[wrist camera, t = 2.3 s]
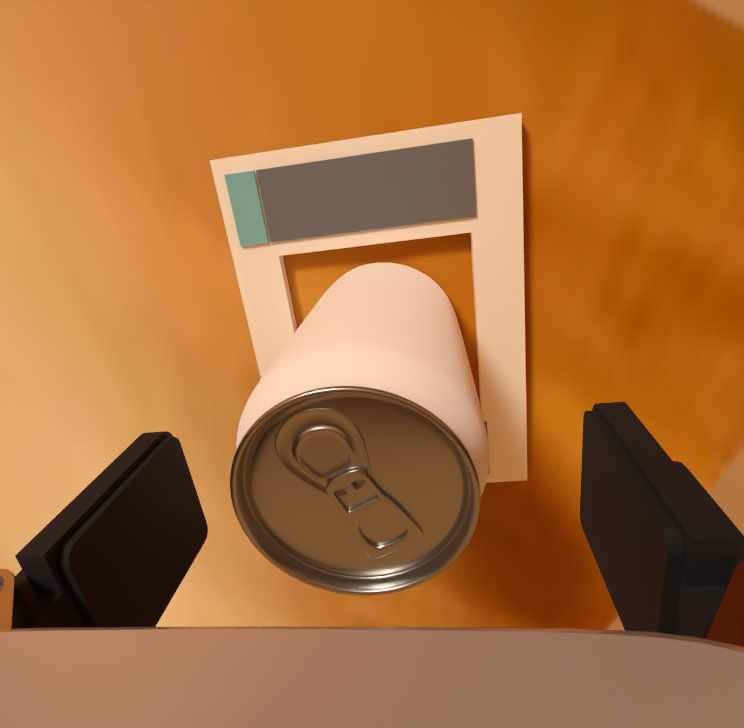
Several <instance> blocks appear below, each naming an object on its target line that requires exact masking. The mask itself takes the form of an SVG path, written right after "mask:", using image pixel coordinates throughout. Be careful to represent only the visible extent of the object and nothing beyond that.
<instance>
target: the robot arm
mask: <svg viewBox="0 0 744 728" xmlns="http://www.w3.org/2000/svg"><path fill="white" fill-rule="evenodd" d="M580 518H581V524H582V528H583V531H584V533H585V536H586V538H587V540H588V543H589V545H590V548H591V550H592V552H593V555H594V557H595V560H596V562H597V564H598V567H599V569H600V572H601V574H602V576H603V579H604V581H605V584H606V586H607V588H608V591H609V593H610V596H611V598H612V600H613V603H614V605H615V608H616V610H617V612H618V615H619V617H620V620H621V622H622V624H623V627H624V629H625V631H619V630H596V629H573V628H473V627H155V626H156V624H157V623H158V621H159V619H160V618H161V616H162V614H163V612H164V611H165V609H166V607H167V606H168V604H169V602H170V600H171V599H172V597H173V595H174V594H175V592H176V590H177V588H178V587H179V585H180V583H181V582H182V580H183V578H184V576H185V575H186V573H187V571H188V570H189V568H190V566H191V564H192V563H193V561H194V559H195V558H196V556H197V554H198V552H199V551H200V549H201V547H202V546H203V544H204V542H205V540H206V537H207V532H208V528H207V523H206V520H205V517H204V514H203V511H202V508H201V505H200V501H199V498H198V495H197V492H196V489H195V486H194V483H193V480H192V477H191V474H190V471H189V468H188V465H187V462H186V459H185V456H184V453H183V450H182V447H181V444H180V442H179V440H178V439H177V438H176V437H173V436H172V434H171V433H169V432H152V433H143V434H142V435H140V436H139V437H138V438H137V439H136V440H135V441H134V442H133V443H132V444H131V445H130V446H129V447H128V448H127V449H126V450H125V451H124V452H123V453H122V454H121V455H119V456H118V457H117V458H116V459H115V460H114V461H113V462H112V463H111V464H110V465H109V466H108V467H107V468H106V469H105V470H104V471H103V472H102V473H101V474H100V475H99V476H98V477H97V478H96V479H95V480H94V481H92V482H91V483H90V484H89V485H88V486H87V487H86V488H85V489H84V490H83V491H82V492H81V493H80V494H79V495H78V496H77V497H76V498H75V499H74V500H73V501H72V502H71V503H70V504H69V505H68V506H67V507H65V508H64V509H63V510H62V511H61V512H60V513H59V514H58V515H57V516H56V517H55V518H54V519H53V520H52V521H51V522H50V523H49V524H48V525H47V526H46V527H45V528H44V529H43V530H42V531H41V532H40V533H38V534H37V535H36V536H35V537H34V538H33V539H32V540H31V541H30V542H29V543H28V544H27V545H26V546H25V547H24V548H23V549H22V550H21V551H20V552H19V553H18V554H17V555H16V558H17V560H18V562H19V564H20V566H21V568H22V570H21V571H20V572H19V573H18V574H17V575H16V576H14V574H13V572H11V571H9V570H7V569H0V728H744V536H743V534H742V533H741V532H740V531H739V530H738V528H737V527H736V526H735V525H734V524H733V523H732V521H731V520H730V519H729V518H728V517H727V515H726V514H725V513H724V512H723V511H722V509H721V508H720V507H719V506H718V505H717V503H716V502H715V501H714V500H713V499H712V497H711V496H710V495H709V494H708V493H707V491H706V490H705V489H704V488H703V487H702V485H701V484H700V483H699V482H698V481H697V479H696V478H695V477H694V476H693V475H692V473H691V472H690V471H689V470H688V469H687V467H686V466H684V465H683V464H682V463H681V462H677V461H672V460H671V459H670V457H669V456H668V455H667V454H666V452H665V451H664V450H663V449H662V447H661V446H660V445H659V444H658V442H657V441H656V440H655V439H654V438H653V436H652V435H651V434H650V433H649V431H648V430H647V429H646V428H645V426H644V425H643V424H642V423H641V421H640V420H639V419H638V418H637V416H636V415H635V414H634V413H633V411H632V410H631V409H630V408H629V407H628V405H627V404H626V403H625V402H614V403H598V404H595V405H594V406H593V410H592V411H585V413H584V421H583V448H582V474H581V501H580Z"/></svg>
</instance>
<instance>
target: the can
mask: <svg viewBox="0 0 744 728" xmlns="http://www.w3.org/2000/svg"><path fill="white" fill-rule="evenodd" d="M488 470H489V447H488V439H487V433H486V428H485V423H484V419H483V415H482V411H481V406H480V402H479V398H478V395H477V391H476V387H475V383H474V379H473V375H472V372H471V368H470V364H469V360H468V356H467V353H466V349H465V345H464V342H463V338H462V334H461V331H460V327H459V324H458V320H457V317H456V314H455V311H454V309H453V306H452V304H451V302H450V300H449V299H448V297H447V295H446V294H445V293H444V291H443V290H442V289H441V288H440V287H439V285H438V284H437V283H436V282H434V281H433V280H432V279H431V278H429V277H428V276H427V275H425V274H424V273H422V272H420V271H418V270H416V269H414V268H411V267H408V266H405V265H401V264H396V263H373V264H366V265H362V266H359V267H357V268H354V269H352V270H351V271H349V272H347V273H346V274H344V275H343V276H342V277H340V278H339V279H338V280H337V281H336V282H335V283H334V284H333V285H332V286H331V287H330V288H329V289H328V290H327V291H326V292H325V294H324V295H323V296H322V297H321V299H320V300H319V301H318V303H317V304H316V305H315V306H314V308H313V309H312V310H311V312H310V313H309V314H308V316H307V317H306V318H305V320H304V321H303V322H302V324H301V325H300V326H299V328H298V329H297V330H296V332H295V333H294V335H293V336H292V337H291V339H290V340H289V341H288V343H287V344H286V345H285V347H284V348H283V349H282V351H281V352H280V354H279V355H278V356H277V358H276V359H275V360H274V362H273V363H272V364H271V366H270V367H269V369H268V370H267V371H266V373H265V374H264V376H263V377H262V379H261V380H260V382H259V383H258V385H257V386H256V388H255V389H254V391H253V392H252V394H251V396H250V398H249V400H248V402H247V404H246V406H245V408H244V411H243V413H242V416H241V419H240V423H239V427H238V433H237V450H236V453H235V456H234V459H233V463H232V468H231V475H230V491H231V498H232V503H233V507H234V510H235V513H236V516H237V518H238V521H239V523H240V525H241V527H242V529H243V530H244V532H245V534H246V535H247V537H248V538H249V540H250V541H251V542H252V544H253V545H254V546H255V547H256V548H257V550H258V551H259V552H260V553H261V554H262V555H263V556H264V557H265V558H267V559H268V560H269V561H270V562H271V563H272V564H274V565H275V566H276V567H278V568H279V569H280V570H282V571H283V572H285V573H287V574H288V575H290V576H292V577H294V578H296V579H298V580H300V581H302V582H304V583H306V584H309V585H311V586H314V587H317V588H320V589H323V590H327V591H331V592H336V593H341V594H349V595H382V594H389V593H394V592H399V591H403V590H406V589H409V588H412V587H415V586H417V585H420V584H422V583H424V582H426V581H428V580H430V579H432V578H434V577H435V576H437V575H438V574H440V573H441V572H443V571H444V570H445V569H446V568H448V567H449V566H450V565H451V564H452V563H453V562H454V561H455V560H456V559H457V558H458V557H459V556H460V555H461V553H462V552H463V551H464V549H465V548H466V546H467V545H468V543H469V541H470V540H471V538H472V536H473V533H474V531H475V529H476V526H477V522H478V518H479V513H480V505H481V496H482V494H483V491H484V488H485V485H486V481H487V476H488Z"/></svg>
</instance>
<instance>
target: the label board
mask: <svg viewBox="0 0 744 728" xmlns="http://www.w3.org/2000/svg"><path fill="white" fill-rule="evenodd" d="M210 164H211V168H212V172H213V176H214V181H215V185H216V189H217V193H218V198H219V202H220V206H221V210H222V215H223V219H224V223H225V227H226V232H227V236H228V240H229V244H230V249H231V253H232V257H233V261H234V266H235V270H236V274H237V278H238V283H239V287H240V291H241V295H242V300H243V304H244V308H245V312H246V317H247V321H248V325H249V329H250V334H251V338H252V342H253V346H254V350H255V355H256V359H257V363H258V367H259V372H260V376H261V379H262V377H263V376H264V374H265V373H266V371H267V370H268V369H269V367H270V366H271V364H272V363H273V362H274V360H275V359H276V358H277V356H278V355H279V354H280V352H281V351H282V349H283V348H284V347H285V345H286V344H287V343H288V341H289V340H290V339H291V337H292V336H293V335H294V333H295V332H296V330H297V325H296V320H295V315H294V310H293V305H292V299H291V294H290V289H289V284H288V279H287V274H286V269H285V264H284V259H283V255H291V254H299V253H307V252H315V251H324V250H332V249H340V248H348V247H356V246H364V245H372V244H381V243H389V242H397V241H405V240H413V239H421V238H429V237H437V236H446V235H454V234H462V233H470V234H471V252H472V270H473V288H474V306H475V324H476V342H477V360H478V378H479V396H480V406H481V411H482V415H483V419H484V423H485V428H486V433H487V439H488V447H489V470H488V476H487V481H486V483H489V482H507V481H525V480H527V419H526V357H525V296H524V235H523V173H522V113H518V114H511V115H505V116H498V117H492V118H485V119H479V120H472V121H465V122H459V123H452V124H446V125H439V126H433V127H426V128H420V129H413V130H406V131H400V132H393V133H387V134H380V135H374V136H367V137H360V138H354V139H347V140H341V141H334V142H328V143H321V144H315V145H308V146H301V147H295V148H288V149H282V150H275V151H269V152H262V153H255V154H249V155H242V156H236V157H229V158H223V159H216V160H210Z"/></svg>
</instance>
